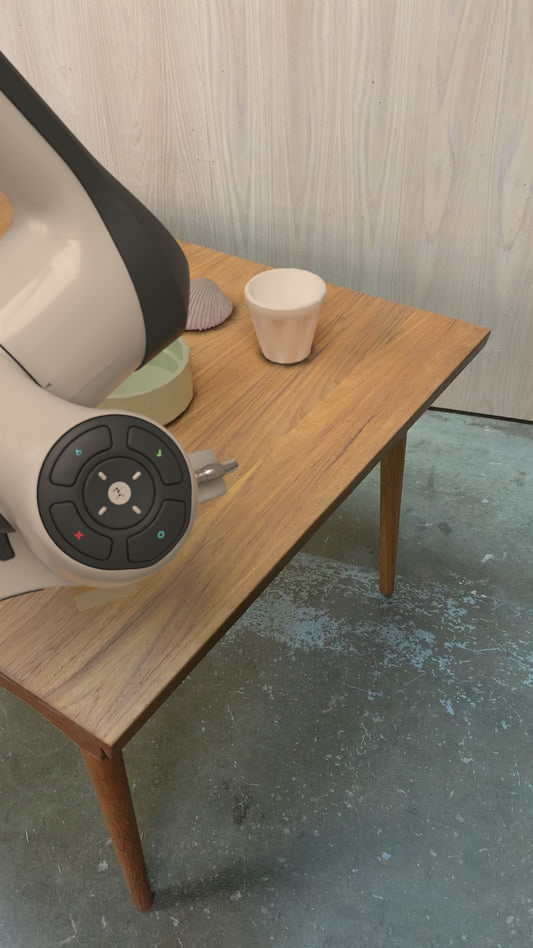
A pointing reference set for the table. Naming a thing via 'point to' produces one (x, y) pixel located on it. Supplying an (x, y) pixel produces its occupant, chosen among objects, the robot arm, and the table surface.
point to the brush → (99, 595)
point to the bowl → (157, 386)
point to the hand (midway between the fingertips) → (83, 520)
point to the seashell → (207, 305)
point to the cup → (285, 312)
